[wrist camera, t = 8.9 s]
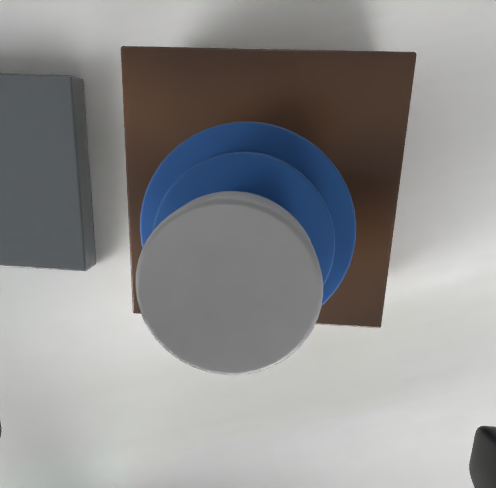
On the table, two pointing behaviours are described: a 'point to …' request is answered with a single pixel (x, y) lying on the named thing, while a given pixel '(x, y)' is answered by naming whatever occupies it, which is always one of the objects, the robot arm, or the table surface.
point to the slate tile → (44, 174)
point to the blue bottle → (241, 246)
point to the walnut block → (291, 118)
